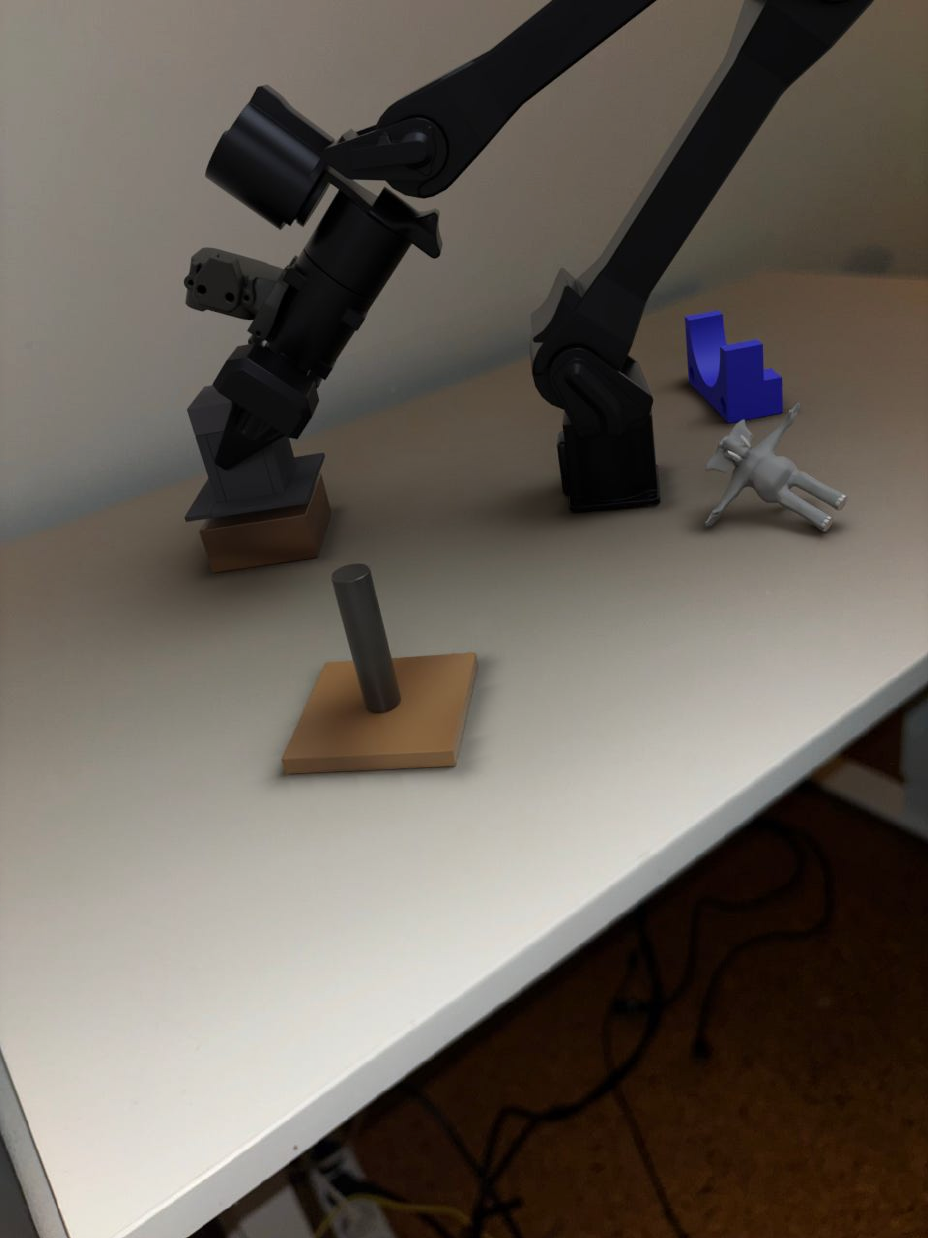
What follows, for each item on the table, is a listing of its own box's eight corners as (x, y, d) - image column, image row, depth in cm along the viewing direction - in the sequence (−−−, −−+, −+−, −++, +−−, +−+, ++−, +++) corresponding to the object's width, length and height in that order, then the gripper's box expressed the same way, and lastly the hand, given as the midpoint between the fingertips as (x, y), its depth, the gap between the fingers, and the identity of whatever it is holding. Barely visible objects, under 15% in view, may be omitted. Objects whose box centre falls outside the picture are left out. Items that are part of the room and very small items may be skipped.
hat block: (331, 512, 82) (321, 472, 80) (317, 557, 75) (306, 514, 73) (235, 527, 83) (222, 487, 81) (212, 573, 76) (198, 530, 74)
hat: (325, 456, 80) (301, 362, 76) (308, 503, 72) (280, 401, 69) (214, 474, 81) (185, 382, 77) (185, 522, 73) (152, 422, 70)
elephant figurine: (779, 567, 63) (666, 493, 67) (795, 591, 68) (688, 521, 72) (883, 434, 62) (761, 367, 66) (890, 469, 67) (777, 405, 72)
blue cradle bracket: (782, 412, 84) (781, 340, 81) (728, 422, 84) (725, 351, 81) (736, 372, 95) (734, 306, 92) (688, 381, 95) (684, 316, 92)
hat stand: (478, 666, 59) (451, 524, 54) (455, 766, 51) (422, 610, 47) (328, 676, 60) (290, 539, 56) (285, 774, 53) (237, 625, 48)
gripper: (262, 179, 75) (164, 353, 81) (201, 221, 58) (85, 435, 65) (390, 271, 78) (286, 431, 84) (366, 335, 62) (239, 528, 68)
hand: (228, 452), depth 75 cm, fingers closed on hat, 5 cm apart
